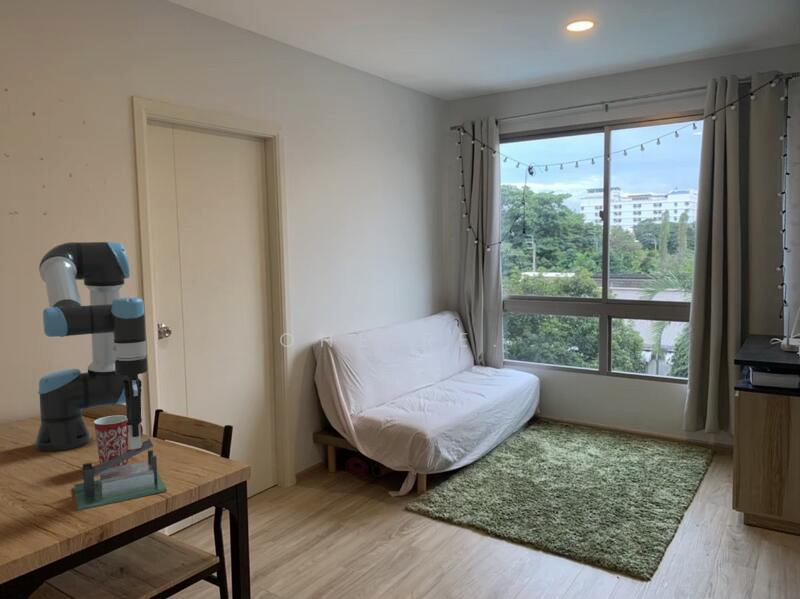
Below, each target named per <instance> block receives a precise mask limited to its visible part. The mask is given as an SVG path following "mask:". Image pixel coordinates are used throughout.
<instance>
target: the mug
mask: <svg viewBox="0 0 800 599" xmlns="http://www.w3.org/2000/svg"><path fill="white" fill-rule="evenodd" d="M126 423H128V419H127V415H121V414H118V415H117V414H116V415H109V416H103V417H99V418H97V419H95V420H93V426H94V429H95V438H96V445H97V453H98V462H99V466H100V465H102V464H104V463H106V462H108V461H110V460H112V459H114V458H116V457H118V456H120V455H122V454H125V453H127V452H129V451H131V450H130V448H128V446H129V429H128V425H126ZM140 426H141V438H142V437H143V433H144V432H143V431H144V428H143V425H142V423H140ZM132 450H133V449H132ZM128 463H129V459H127V460H125V461H123V462H121V463H119V464H117V465H115V466H113V467H117V466H123V465H128ZM110 468H112V467H110Z"/></svg>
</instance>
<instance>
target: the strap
mask: <svg viewBox="0 0 800 599" xmlns="http://www.w3.org/2000/svg"><path fill="white" fill-rule="evenodd" d="M141 445H142V448H137V449H133V450H131V451H129V452H127V453H125V454H122V455H120V456H118V457H116V458H114V459H112V460H110V461H108V462H106V463H104V464H102V465H100V464H99V465H98V466H96V467H94V468H92V469H93V471H94V476H96V475H98V473H100V472H102V471H104V470H106V469H108V468H110V467H113V466H115V465H117V464H119V463H121V462H123V461H125V460H127V459H128V460H129V459H131V458H133V457H135V456H137V455H139V454H141V453H143V452H145V451H148V450H149V449H151V448H153V447H154V446H153V443H152V441H151V439H150V438H148V439H147V440H144V441H143V442H142V441H141Z"/></svg>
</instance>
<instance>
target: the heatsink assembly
mask: <svg viewBox="0 0 800 599" xmlns="http://www.w3.org/2000/svg"><path fill="white" fill-rule="evenodd" d="M157 464H158V461H157V455H154V450H153V449H150V450H149V449H147V461H141V462H135V463H129V464H128V463H127V464H126V465H123V466H117V467H112V468H108V469H106V470H104V471H102V472H100V473H98V474H97V477H98V479H97V480H95V475H94V471H93V469H94V468H93V463H92V462H87V463H83V464H82V475H83V482H81V483H76V484H73V486H74V487H73V488H74V493H75V499H76V501H75V502H76V506H77V510H78V511H80V510H84V509H88V508H94V507H98V506H99V507H100V506H103V505H109V504H113V503H114V504H115V503H118V502H123V501H127V500H132V499H137V498H141V497H146V496H151V495H155V494H161V493H166V492H167V493H168V489H167V486H166V485H165V482H164V481H163V479H162V477H161V476H160V474H159V472H158V467H157V466H158V465H157Z"/></svg>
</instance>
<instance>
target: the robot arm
mask: <svg viewBox="0 0 800 599" xmlns="http://www.w3.org/2000/svg"><path fill="white" fill-rule="evenodd" d="M128 259H129V258H128V255H127V251H126V249H125V247H124V246H123V244H122V243H119V242H109V241H93V242H92V241H91V242H74V241H73V242H70V241H69V242H64V243H61V244H58V245H57V246H54V247H53V248H51V249H50V250H49V251H48V252H46V253H44V256H43V257H42V258H41V260H40V262H39V266H38V270H39V276H40V278H41V280H42V281H44V283H45V287H46V288H45V289H46V294H47V300H48V305H49V307H46V308H44V309H43V311H42V321H43V322H42V323H43V332H44V335H45V336H46V337H53V338H55V337H60V338H64V337H71V336H81V335H91V352H92V353H91V354H92V362H91V363H89V364H88V365H87V372H81V370H80V369H78V368H70V369H63V370H59V371H54V372H51V373H48V374H46V375H44V376H42V377H41V378H40V379H39V381H38V395H39V412H40V413H39V414H40V425H39V429H38V432H37V435H36V438H35V448H36V450H37V451H42V452H59V451H60V452H61V451H66V450H70V449H75V448H78V447H81V446H84V445H86V444H89V442H90V440H91V437H90V436H91V435H90V430H89V429H88V426H87V424H86V422H85V420H84V417H83V410H87V409H92V408H93V409H94V408H101V407H108V406H109V407H110V406H116V405H121V404H125V407H126V408H125V409H126V416H127V419H128V423H126V425H128V429H129V432H128V446H129V449H130V450H132V449H137V448H142V445H143V444H142V437H141V426H140V424H142V422H143V419H142V387H143V386H142V385H143V384H142V380H141V379H140V378H139V375H140V374H145V373H147V371H148V359H147V353H148V352H147V340H146V322H145V320H146V318H145V313H146V309H145V304H144V300H143V299H142V298H141V297H120V296H121V295H120V289H121V288H122V287H123V286H124V285H125V280H127V279H129V278H130V276H131V275H130V264H129V260H128ZM76 280H78V281H83V285H84V286H85V287H86V288H87V289H88V290H89V302H90V303H89V304H90V305H82V300H81V297H80V292H79V289H78V285H77V281H76Z"/></svg>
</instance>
